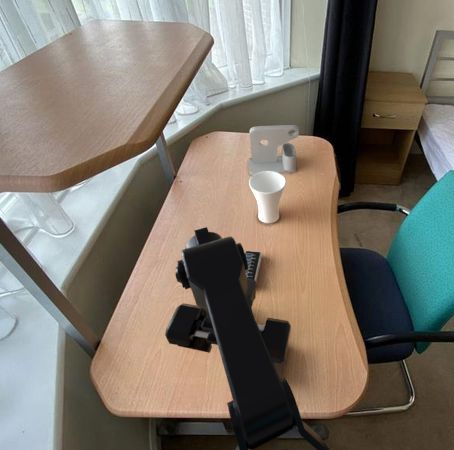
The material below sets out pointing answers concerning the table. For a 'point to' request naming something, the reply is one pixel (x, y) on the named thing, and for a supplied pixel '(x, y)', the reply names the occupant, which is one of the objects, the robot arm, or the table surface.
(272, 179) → the cup
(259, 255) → the multiport hub
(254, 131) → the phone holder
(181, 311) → the robot arm
